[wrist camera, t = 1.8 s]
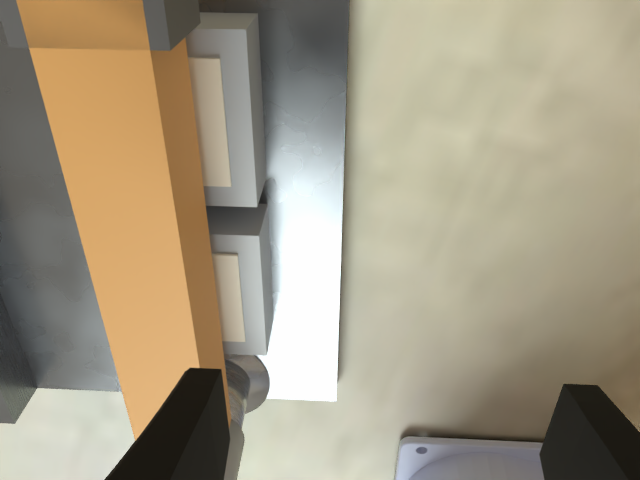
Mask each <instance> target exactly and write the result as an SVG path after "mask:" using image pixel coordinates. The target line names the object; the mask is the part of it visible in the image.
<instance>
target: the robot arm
mask: <svg viewBox="0 0 640 480" xmlns="http://www.w3.org/2000/svg"><path fill="white" fill-rule="evenodd" d="M229 444H230V432H229V424H228V417H227V409H226V401H225V393H224V385H223V377H222V369H210V368H189V369H188V370H186V371H185V372H184V374H183V375H182V377H181V378H180V380H179V381H178V383H177V384H176V386H175V387H174V389H173V390H172V392H171V393H170V394H169V396H168V397H167V399H166V400H165V402H164V403H163V404H162V406H161V407H160V409H159V410H158V411H157V413H156V414H155V416H154V417H153V418H152V420H151V421H150V422H149V424H148V425H147V426H146V428H145V429H144V431H143V432H142V433H141V434H140V436H139V437H138V438H137V440H136V441H135V442H134V443H133V445H132V446H131V447H130V449H129V450H128V451H127V452H126V454H125V455H124V456H123V458H122V459H121V460H120V461H119V463H118V464H117V465H116V466H115V468H114V469H113V470H112V471H111V473H110V474H109V475H108V476H107V477H106V478H105V480H224V476H225V470H226V463H227V457H228V451H229ZM395 480H640V432H639V431H638V430H637V429H636V428H635V427H634V426H633V424H632V423H631V422H630V421H629V420H628V419H627V418H626V417H625V416H624V414H623V413H622V412H621V411H620V410H619V409H618V408H617V407H616V405H615V404H614V403H613V402H612V401H611V400H610V399H609V398H608V397H607V395H606V394H605V393H604V392H603V391H602V390H601V389H600V388H599V387H598V386H597V385H577V384H563V387H562V390H561V393H560V396H559V399H558V402H557V404H556V407H555V410H554V413H553V416H552V419H551V422H550V425H549V427H548V430H547V433H546V436H545V439H544V442H543V443H539V442H518V441H498V440H477V439H456V438H435V437H414V436H409V437H405V438H403V439H402V440H401V441H400V443H399V450H398V458H397V466H396V473H395Z"/></svg>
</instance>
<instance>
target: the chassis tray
mask: <svg viewBox="0 0 640 480" xmlns="http://www.w3.org/2000/svg"><path fill="white" fill-rule="evenodd" d="M198 2H199V11H200V12H212V13H258V24H259V43H260V62H261V82H262V101H263V120H264V140H265V159H266V180H265V183H264V187H263V190H262V193H261V197H260V200H259V203H258V204H268V217H269V237H270V256H271V275H272V295H273V314H274V319H273V325H272V330H271V336H270V341H269V346H268V352H267V356H262V355H238V354H224V361H225V369H226V377H227V385H228V394H229V402H230V410H231V418H232V419H233V420H234V421H235V422H236V423H237V424H238V425H239V426H240V428H241V429H242V424H243V420H244V415H245V414H246V413H249V412H251V411H253V410H255V409H256V408H258V407H259V406H260V405H261V404H262V403H263V402H264V401H265V399H266V398H270V399H292V400H314V401H335V402H336V401H337V372H338V341H339V310H340V278H341V247H342V216H343V184H344V153H345V122H346V90H347V59H348V28H349V0H198ZM37 388H51V389H73V390H95V391H117V392H122V390H121V386H120V382H119V379H118V375H117V371H116V367H115V364H114V360H113V356H112V353H111V349H110V345H109V342H108V338H107V334H106V330H105V327H104V323H103V319H102V316H101V312H100V308H99V305H98V301H97V297H96V294H95V290H94V286H93V282H92V279H91V275H90V271H89V268H88V264H87V260H86V257H85V253H84V249H83V245H82V242H81V238H80V234H79V231H78V227H77V223H76V220H75V216H74V212H73V209H72V205H71V201H70V197H69V194H68V190H67V186H66V183H65V179H64V175H63V172H62V168H61V164H60V160H59V157H58V153H57V149H56V146H55V142H54V138H53V135H52V131H51V127H50V124H49V120H48V116H47V112H46V109H45V105H44V101H43V98H42V94H41V90H40V87H39V83H38V79H37V75H36V72H35V68H34V64H33V61H32V57H31V53H30V50H29V48H9V46H8V42H7V39H6V35H5V32H4V28H3V25H2V21H1V18H0V423H12V424H15V423H16V421H17V419H18V418H19V416H20V415H21V413H22V411H23V410H24V408H25V407H26V405H27V403H28V402H29V400H30V399H31V397H32V395H33V394H34V392H35V391H36V389H37Z"/></svg>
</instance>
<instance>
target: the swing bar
mask: <svg viewBox="0 0 640 480" xmlns="http://www.w3.org/2000/svg"><path fill="white" fill-rule="evenodd" d="M0 18H1V21H2V25H3V28H4V32H5V35H6V39H7V42H8V46H9V48H29V50H30V53H31V57H32V61H33V64H34V68H35V72H36V75H37V79H38V83H39V87H40V90H41V94H42V98H43V101H44V105H45V109H46V112H47V116H48V120H49V124H50V127H51V131H52V135H53V138H54V142H55V146H56V149H57V153H58V157H59V160H60V164H61V168H62V172H63V175H64V179H65V183H66V186H67V190H68V194H69V197H70V201H71V205H72V209H73V212H74V216H75V220H76V223H77V227H78V231H79V234H80V238H81V242H82V245H83V249H84V253H85V257H86V260H87V264H88V268H89V271H90V275H91V279H92V282H93V286H94V290H95V294H96V297H97V301H98V305H99V308H100V312H101V316H102V319H103V323H104V327H105V330H106V334H107V338H108V342H109V345H110V349H111V353H112V356H113V360H114V364H115V367H116V371H117V375H118V379H119V382H120V386H121V390H122V393H123V397H124V401H125V404H126V408H127V412H128V415H129V419H130V423H131V427H132V430H133V434H134V438H135V441H136V440H137V438H138V437H139V436H140V434H141V433H142V432H143V431H144V429H145V428H146V426H147V425H148V424H149V422H150V421H151V420H152V418H153V417H154V416H155V414H156V413H157V411H158V410H159V409H160V407H161V406H162V404H163V403H164V402H165V400H166V399H167V397H168V396H169V394H170V393H171V392H172V390H173V389H174V387H175V386H176V384H177V383H178V381H179V380H180V378H181V377H182V375H183V374H184V372H185V371H186V370H188V369H189V368H210V369H222V377H223V385H224V393H225V401H226V409H227V417H228V424H229V432H230V444H229V451H228V457H227V463H226V470H225V476H224V480H237V476H238V471H239V466H240V461H241V456H242V451H243V446H244V434H243V431H242V429H241V428H240V426H239V425H238V424H237V423H236V422H235V421H234V420H233V419H232V418H231V410H230V402H229V394H228V385H227V377H226V369H225V361H224V352H223V344H222V336H221V328H220V319H219V311H218V303H217V295H216V286H215V278H214V270H213V261H212V253H211V245H210V237H209V228H208V220H207V212H206V204H205V195H204V187H203V179H202V171H201V162H200V154H199V146H198V138H197V129H196V121H195V113H194V104H193V96H192V88H191V80H190V71H189V63H188V55H187V47H186V38H185V37H186V36H187V35H188V34H189V33H190V32H192V31H193V30H194V29H195V28H196V27H197V26H198V25H199V24H200V23H201V21H200V11H199V2H198V0H0Z"/></svg>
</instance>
